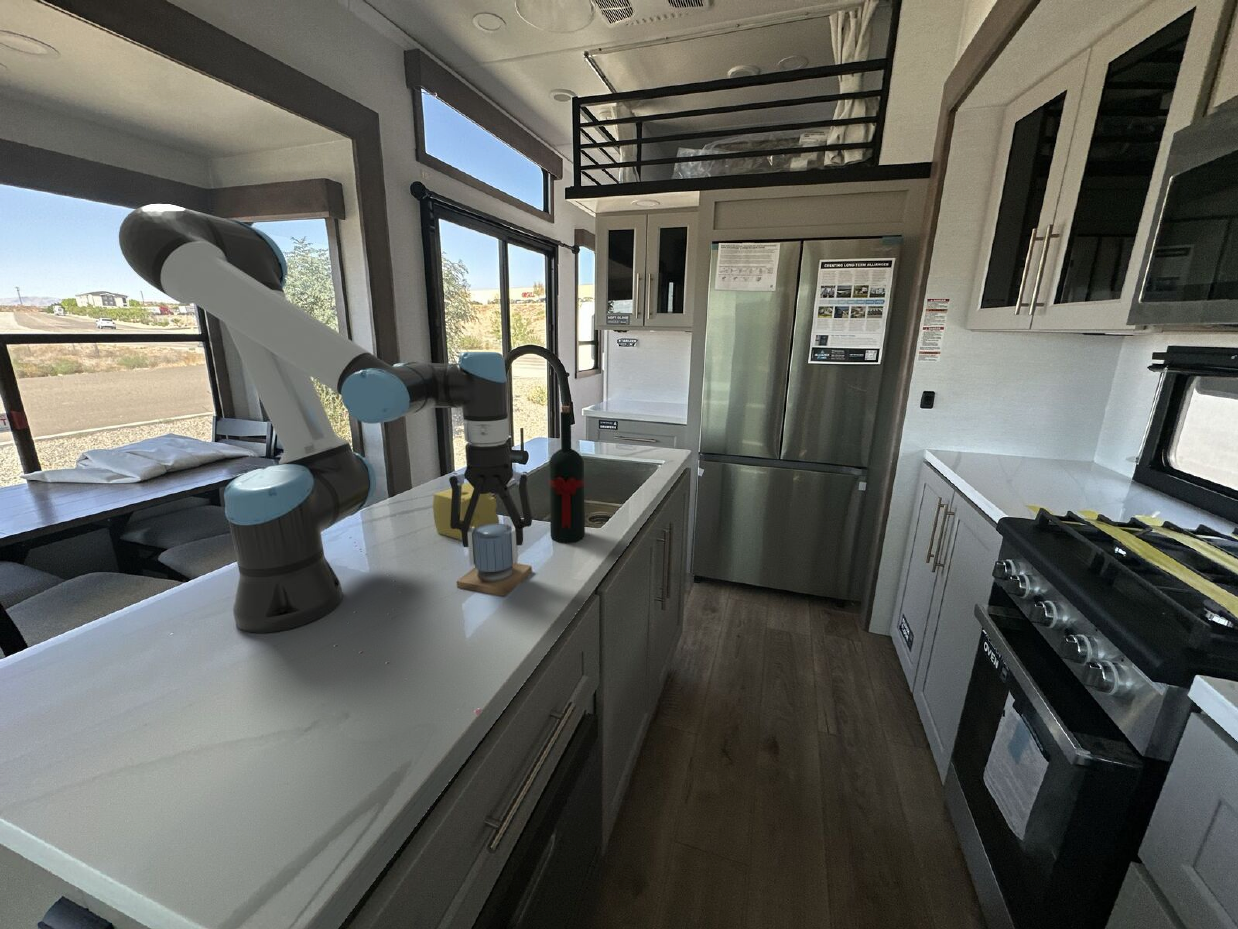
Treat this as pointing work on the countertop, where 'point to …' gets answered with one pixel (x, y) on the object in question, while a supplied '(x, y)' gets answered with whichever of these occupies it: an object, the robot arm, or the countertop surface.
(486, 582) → the wooden square stand
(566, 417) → the wine bottle
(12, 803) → the countertop surface
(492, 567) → the cap
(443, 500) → the cheese
